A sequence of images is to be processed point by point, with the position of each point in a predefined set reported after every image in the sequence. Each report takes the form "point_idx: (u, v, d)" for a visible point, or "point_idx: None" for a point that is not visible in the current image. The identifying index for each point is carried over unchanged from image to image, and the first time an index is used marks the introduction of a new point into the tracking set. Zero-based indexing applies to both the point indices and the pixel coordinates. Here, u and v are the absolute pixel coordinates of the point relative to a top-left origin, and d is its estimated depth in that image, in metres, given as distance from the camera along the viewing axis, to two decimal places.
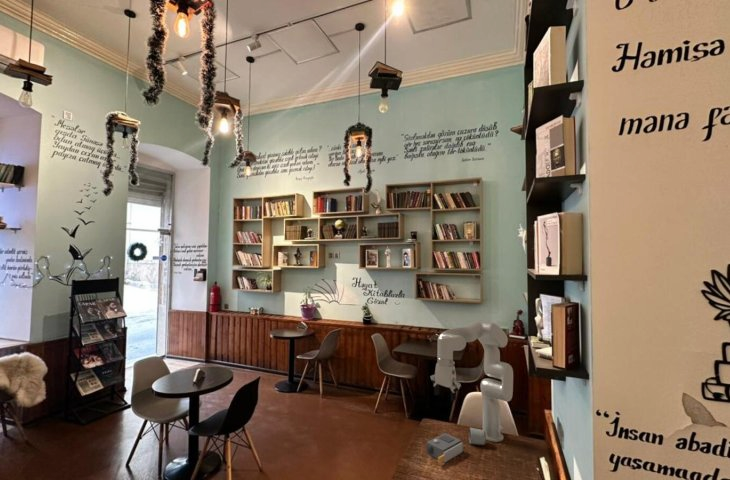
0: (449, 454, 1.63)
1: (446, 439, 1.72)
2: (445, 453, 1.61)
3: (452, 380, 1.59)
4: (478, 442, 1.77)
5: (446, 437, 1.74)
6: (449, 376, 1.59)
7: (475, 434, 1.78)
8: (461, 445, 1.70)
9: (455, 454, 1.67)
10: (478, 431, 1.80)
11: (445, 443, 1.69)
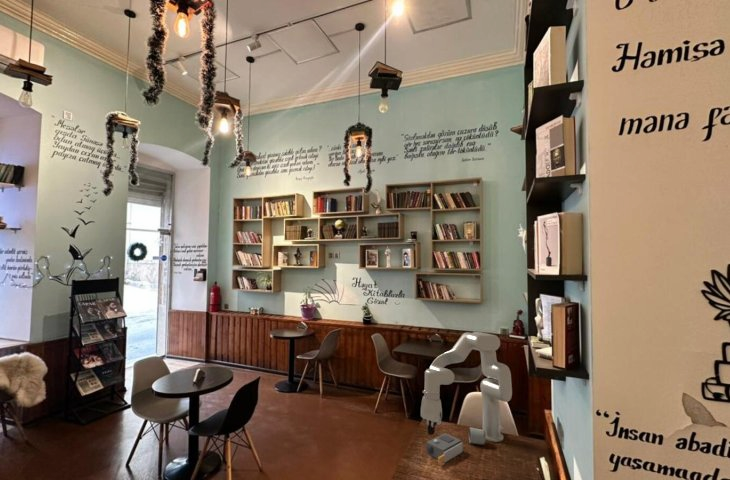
0: (449, 454, 1.63)
1: (446, 439, 1.72)
2: (445, 453, 1.61)
3: None
4: (478, 442, 1.78)
5: (446, 437, 1.74)
6: None
7: (475, 434, 1.79)
8: (461, 445, 1.70)
9: (455, 454, 1.67)
10: (478, 431, 1.80)
11: (445, 443, 1.69)
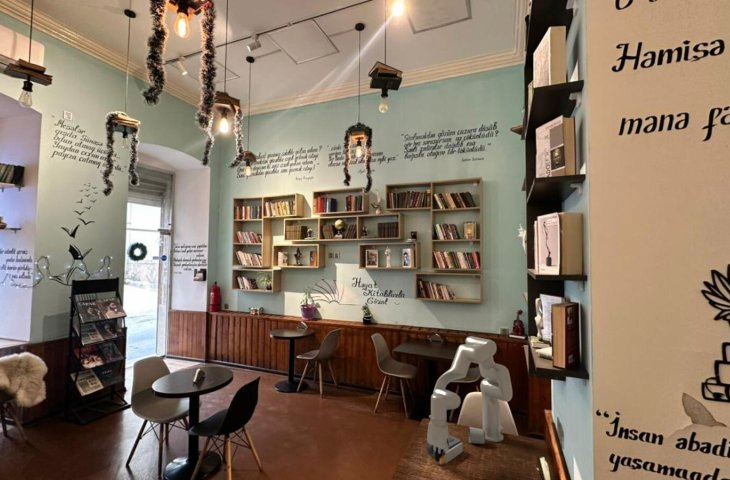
0: (450, 454, 1.63)
1: None
2: (446, 454, 1.61)
3: None
4: (478, 441, 1.78)
5: None
6: None
7: (475, 433, 1.79)
8: (461, 445, 1.70)
9: (456, 454, 1.66)
10: (478, 430, 1.81)
11: None
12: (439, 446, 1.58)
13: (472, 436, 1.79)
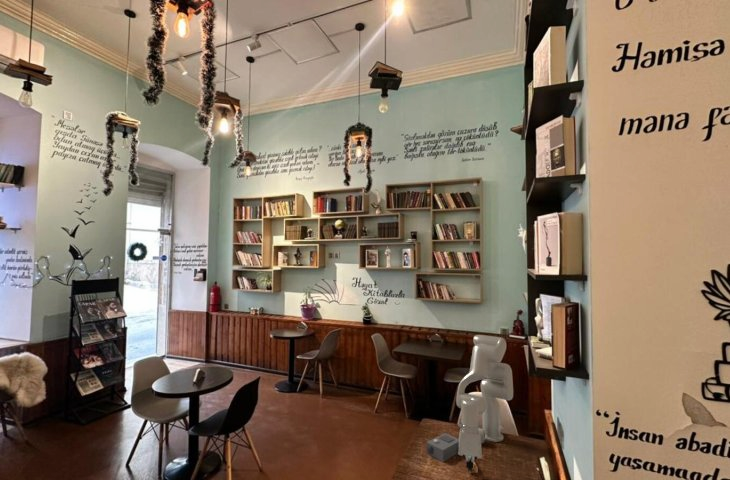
0: None
1: (446, 439, 1.72)
2: None
3: None
4: None
5: (446, 437, 1.74)
6: None
7: None
8: None
9: None
10: None
11: (445, 443, 1.69)
12: (475, 454, 1.51)
13: None
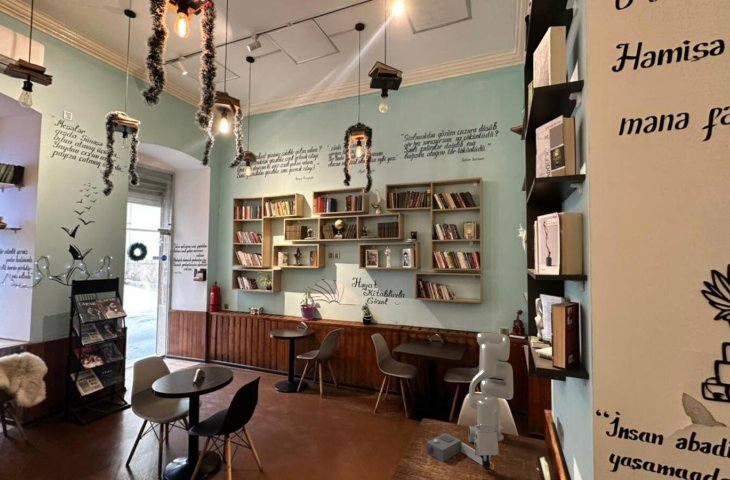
0: None
1: (446, 439, 1.72)
2: None
3: (474, 443, 1.56)
4: None
5: (446, 437, 1.74)
6: None
7: (474, 432, 1.80)
8: None
9: None
10: None
11: (445, 443, 1.69)
12: (493, 453, 1.53)
13: (472, 435, 1.80)
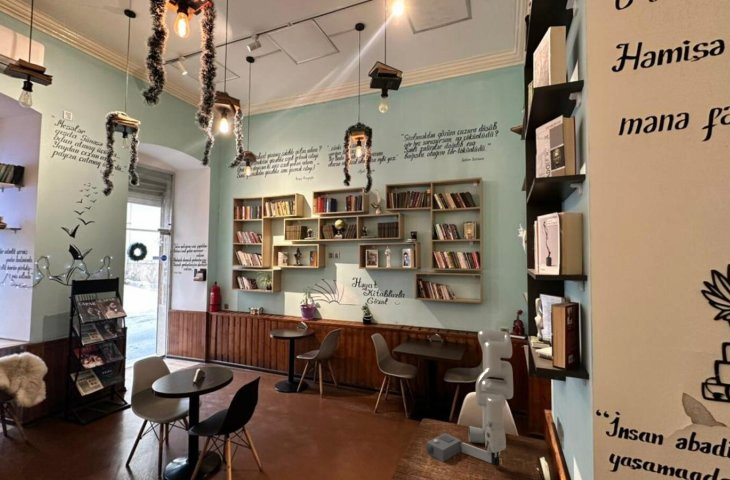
0: None
1: (446, 439, 1.72)
2: None
3: (486, 442, 1.57)
4: (477, 440, 1.79)
5: (446, 437, 1.74)
6: None
7: (474, 432, 1.80)
8: None
9: None
10: (477, 429, 1.82)
11: (445, 443, 1.69)
12: (503, 448, 1.58)
13: (472, 435, 1.80)
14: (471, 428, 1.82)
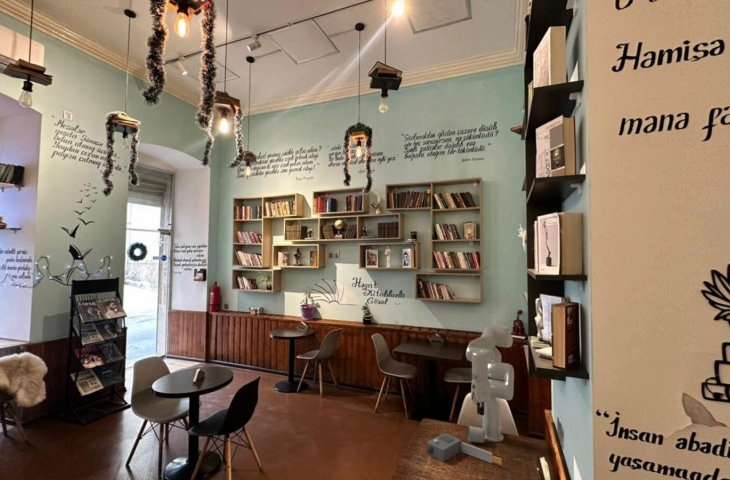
0: None
1: (446, 439, 1.72)
2: None
3: (471, 393, 1.65)
4: (477, 440, 1.79)
5: (446, 437, 1.74)
6: None
7: (474, 432, 1.80)
8: None
9: None
10: (477, 429, 1.82)
11: (445, 443, 1.69)
12: (488, 398, 1.66)
13: (471, 435, 1.80)
14: (471, 428, 1.82)
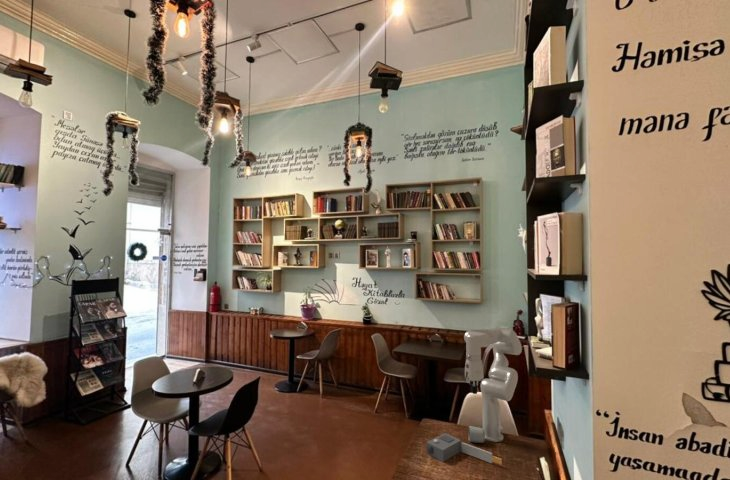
0: None
1: (446, 439, 1.72)
2: None
3: (465, 372, 1.75)
4: (477, 440, 1.80)
5: (446, 437, 1.74)
6: None
7: (474, 432, 1.81)
8: None
9: None
10: (477, 429, 1.82)
11: (445, 443, 1.69)
12: (480, 378, 1.76)
13: (471, 435, 1.80)
14: (471, 428, 1.83)
